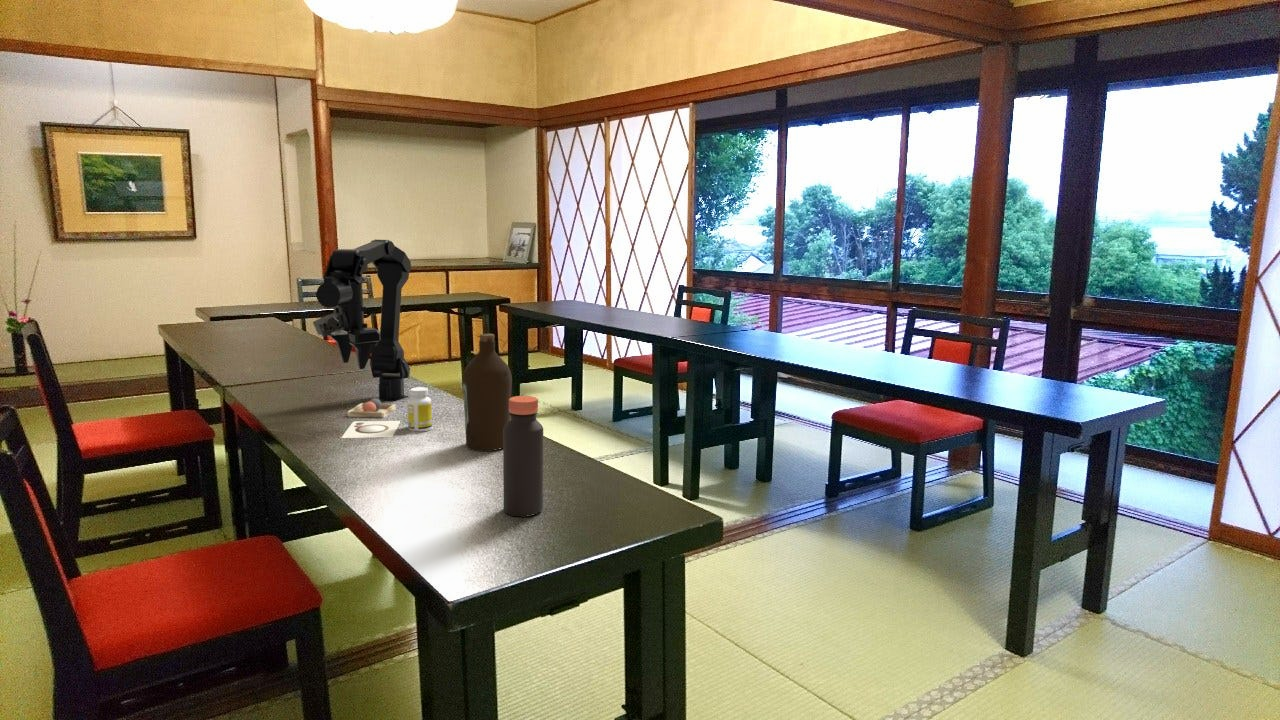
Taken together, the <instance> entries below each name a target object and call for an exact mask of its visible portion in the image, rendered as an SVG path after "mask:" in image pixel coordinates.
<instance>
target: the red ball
mask: <svg viewBox="0 0 1280 720" xmlns="http://www.w3.org/2000/svg"><path fill="white" fill-rule="evenodd" d="M364 403H365V404H364V405H363V411H364V412H375V411H376V405H375V404H374V403H373V402H369V401H366V402H364Z"/></svg>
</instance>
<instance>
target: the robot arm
mask: <svg viewBox="0 0 1280 720" xmlns="http://www.w3.org/2000/svg"><path fill="white" fill-rule="evenodd" d="M371 263H372V264H373V266H374V268H376V271H377V278H378V281H380V283H381V285H382V297H381V309H380V311H381V313H380V327H379V328H380V329H379V330H378V329H377V328H374V327H370V326H369V327H368V323H366V322H365V317H364V316H365V315H364V312H367V310H368V309H367V308H368V307H367V306H365V305H364V300H363V299H364V298H363V297H364V295H363V283H365V282H366V278H365V277H364V276H363V274H364V272H366V271H368V270H367V269H368V267H369V264H371ZM411 263H412V262H411V260H410V258H409V257H408V255H407V254H406V252H405V251H404V250H402V249H401V248H399V247H397V246H396V245H395V244H394V242H393V241H392V240H389V239H374V240H371V241H370V242H368V243H365V244H363V245H361V246H358V247H356V248H343V249H342V248H341V249H340V248H338V249H334V250H332V252H331V254H330V256H329V260H328V263H327V265H326V268H325V272H324V275H323V282H322V283H321V284H320V285H319V286H318V287H317V289H316V292H315V295H316V299H317V302H318V303H319V304H320V305H321V306H322V307H324V308H327V309H328V308H333V313H330V314H327V315H325V316H323V317H320V318H318V319H316V320H314V321H313V322H312V324H313V327H314V329H315V330H316V334H317V335H318V336H322V337H329V338H331V339H332V340H333V341H334V342H335V344H336V345H337V349H338V352H339V354H340V355H339V356H340V357H341V360H342V363H344V364H347V363H349V360H350V357H351V353H352V349H353V348H354V350H355V353H356V354H355V355H356V360H357V364H358V368H359V370H364V369H365V368H366V366H367V364H368V361H369V364H370V370H371V375H372V378H373V379H376V378H378V382H379V384H378V396H377V397H375V398H376V399H379V400H380V401H387V402H397V401H400V400H403V399H407V398H410V397H409V395H405V390H404V389H405V388H404V387H405V386H404V385H405V384H404V380H405V379H409V378H410V374H411V368H410V366H409V364H408V362H407V361H406V359H405V351H404V349H403V347H402V346H401V344H400V342H399V337H400V336H399V334H400V323H401V322H400V321H401V320H400V319H401V303H402V291H403V290H402V289H403V288H404V286H405V284H407V282H408V280H409V278H410V277H409V276H410V272H411V270H412V264H411ZM369 359H370V360H369Z"/></svg>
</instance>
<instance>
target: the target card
mask: <svg viewBox="0 0 1280 720" xmlns="http://www.w3.org/2000/svg"><path fill="white" fill-rule="evenodd" d="M400 423H401V420H369V421H368V420H367V421H366V420H364V421H363V420H362V421H361V420H358V421H356V420H355V421H354V420H353V421H352V423H351V424H350V425H349V426H348V428H347V430H346V431H345V432H344V433H343V435H342V436H341V437H340V439H365V438H370V439H372V438H373V439H374V438H393V437H394V435H395V433H396V431H397V428H398V426H399V425H400Z"/></svg>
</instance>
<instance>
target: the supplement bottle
mask: <svg viewBox="0 0 1280 720" xmlns="http://www.w3.org/2000/svg"><path fill="white" fill-rule="evenodd" d="M409 391H410V396H411V397H409V398H408V400H407V425H408V426H407V427H408V430H410V431H413V432H419V433H422V432H427V431H431V429H432V428H433V415H432V414H433V412H432V399H431V398H430V397H429V396H428V395H429V388H427V387H420V386H419V387H413V388H411V389H410V390H409Z"/></svg>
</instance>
